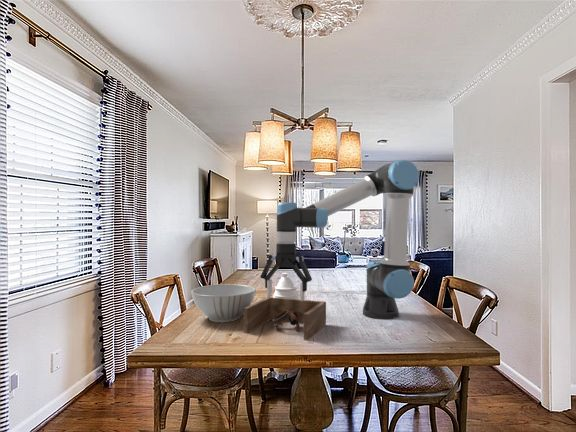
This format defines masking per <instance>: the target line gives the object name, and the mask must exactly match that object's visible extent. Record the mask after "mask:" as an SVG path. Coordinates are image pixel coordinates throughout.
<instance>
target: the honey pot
mask: <svg viewBox="0 0 576 432" xmlns="http://www.w3.org/2000/svg"><path fill="white" fill-rule="evenodd" d="M288 275H289V273H288V272H282V273H281V278H279V281H278V283H277V285H276V286H274V289H275V291H274V293H273V295H272V297H274V298H287V299H299V300H300V296H299V294H298V292H297V290H298V286H297V285H295V284H294V282H293V280H292V279H291V278H290V276H288Z"/></svg>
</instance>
